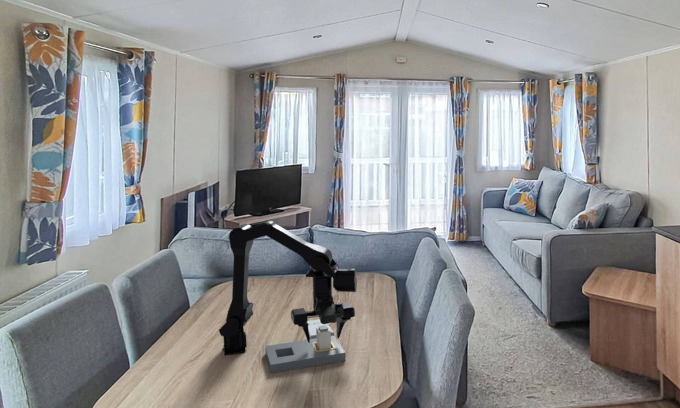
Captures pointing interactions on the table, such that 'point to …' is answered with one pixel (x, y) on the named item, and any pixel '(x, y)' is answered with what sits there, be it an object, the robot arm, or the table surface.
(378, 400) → the table surface
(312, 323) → the external hard drive
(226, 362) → the table surface
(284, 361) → the panel
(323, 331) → the plug
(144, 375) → the table surface
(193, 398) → the table surface
